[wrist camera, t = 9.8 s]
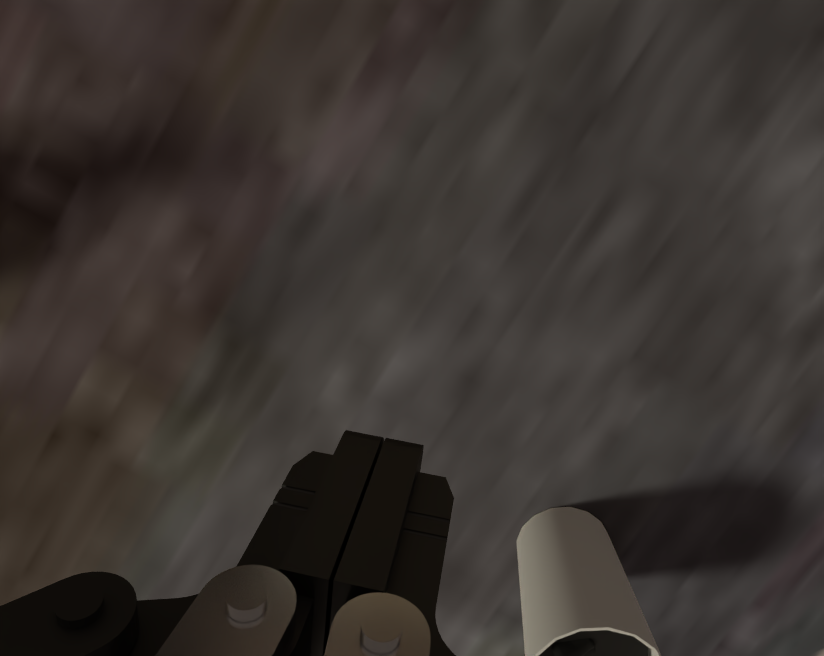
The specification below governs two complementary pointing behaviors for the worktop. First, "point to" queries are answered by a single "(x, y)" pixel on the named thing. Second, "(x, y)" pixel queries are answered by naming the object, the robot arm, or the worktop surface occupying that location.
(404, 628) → the robot arm
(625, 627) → the white cup
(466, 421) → the worktop surface
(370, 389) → the worktop surface
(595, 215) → the worktop surface
